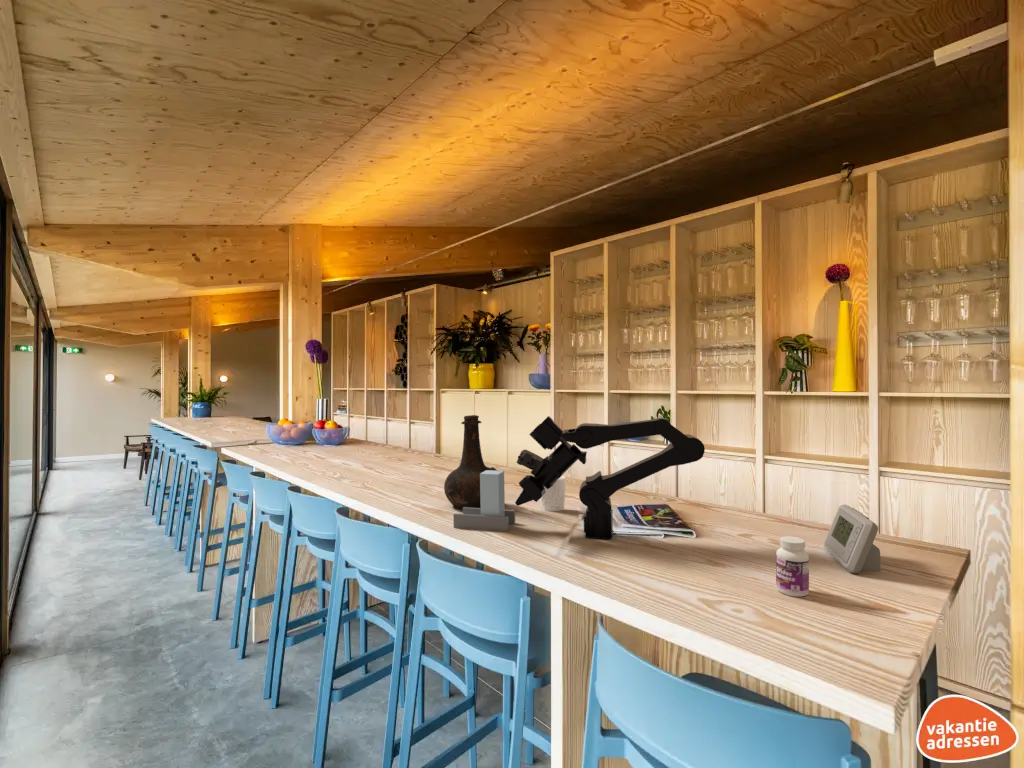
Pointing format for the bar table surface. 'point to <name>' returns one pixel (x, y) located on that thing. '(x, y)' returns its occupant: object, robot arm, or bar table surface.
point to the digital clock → (853, 540)
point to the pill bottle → (792, 567)
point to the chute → (483, 520)
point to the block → (492, 493)
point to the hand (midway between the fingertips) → (516, 504)
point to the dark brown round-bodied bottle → (467, 469)
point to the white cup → (554, 496)
